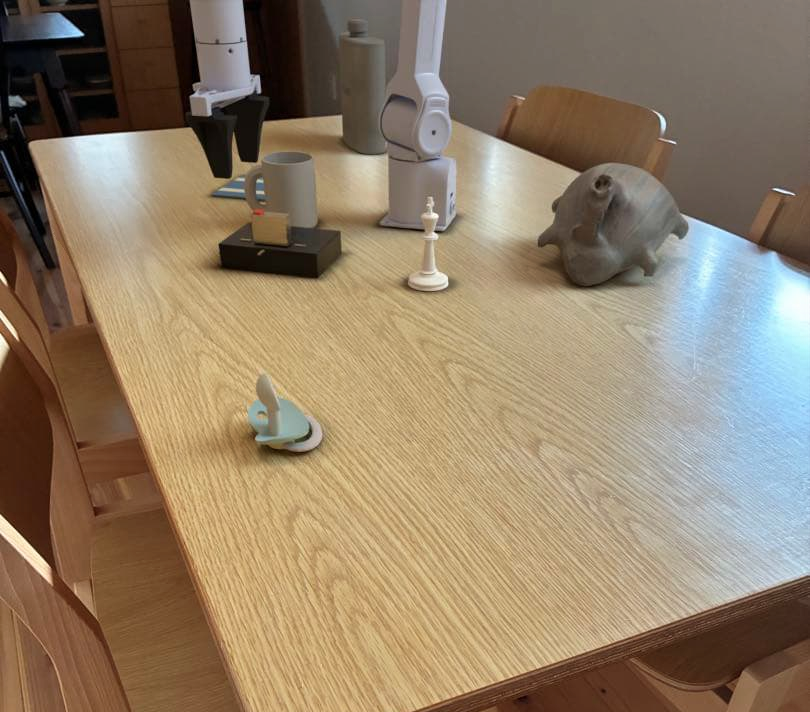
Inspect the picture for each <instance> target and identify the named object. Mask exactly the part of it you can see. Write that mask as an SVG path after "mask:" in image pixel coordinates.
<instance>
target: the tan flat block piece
mask: <svg viewBox="0 0 810 712" xmlns="http://www.w3.org/2000/svg"><path fill="white" fill-rule="evenodd" d="M250 220H251V221H250V222H252V231H253V240H254V243H257V244H266V245H276V246H286V247H287V246H288V245H290V244H291V243H292V238H291V226H290V214H285V213H274V212H264V210H261V209H256V210H255V211H253V210H252V212H251V214H250Z"/></svg>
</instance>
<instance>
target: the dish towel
mask: <svg viewBox="0 0 810 712" xmlns="http://www.w3.org/2000/svg"><path fill="white" fill-rule="evenodd" d="M245 177H246V174H242V175H240V176H238V177H237V178H235V179H234V180H233V181H230V182H229V183H228V184H225V185H224V186H223V187H221V188H219V189H217V190H216V191H214V192H213V193H212V194H211V197H215V198H217V197H218V198H228V199H238V200H246V197H245V191H244V181H245ZM256 195H257V198H258V201H259V202H260V201H261V202H265V193H264V183H263V177H262V178H258V179H257V181H256Z"/></svg>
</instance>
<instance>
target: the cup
mask: <svg viewBox="0 0 810 712" xmlns="http://www.w3.org/2000/svg"><path fill="white" fill-rule="evenodd" d="M260 162H261V163H260V164H257V165H253V166H252V167H251V168H250V169H248V171H247V172H246V174H245V175H246V177H245V181H244V191H245V197H246V199H245V200H246V204H247V205H248V206H249V208H250V210H251V211H252V212H253V211H255V210H256V209H261V210H264V212H274V213H285V214H290V226H295V227H305V228H316V226H317V224H318V223H319V214H318V212H319V211H318V202H317V201H318V198H317V183H316V182H317V181H316V168H315V167H316V166H315V156H314V155H313V154H311V153H309V152H305V151H297V150H295V151H294V150H286V151H285V150H283V151H275V152H270V153H265V154H264V155H262V156H261V158H260ZM262 177H263V183H264V193H265V201H264V202H265V204H264V203H261V202H260V200H258V198H257V195H256V181H257V179H258V178H262Z"/></svg>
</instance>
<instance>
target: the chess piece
mask: <svg viewBox="0 0 810 712" xmlns="http://www.w3.org/2000/svg"><path fill="white" fill-rule="evenodd" d="M433 206H434V202H433V197H428V204H427V205H426V209H428V212H427V213H424V214H422V215H421V219H422V222H423V225H424V229H425V230H424V229H423V230H424V232H423V233H421V234H420V237H419V238H420V239H421V241H422V240H423V241H424V248H423V256H422V262H421V267H420V268H419V269H418V271H415V272H412V273H411V274H409V276H408V281H407V285H408V286H409V287H410V288H412V289H414V290H417V291H421V292H437V291H441V290H444V289H446V288H447V287H448V286H449V277H448V275H446V274H445V273H443V272H441V271H439V269H438V268H437V267H436V259H435V250H434V249H435V246H434V241H436V240H438V239H439V235H438V234H437V233H436V232H435V227H436V223H437V221H438V217H439V216H438V215H437V214H436V213H433V212H432V207H433Z"/></svg>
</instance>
